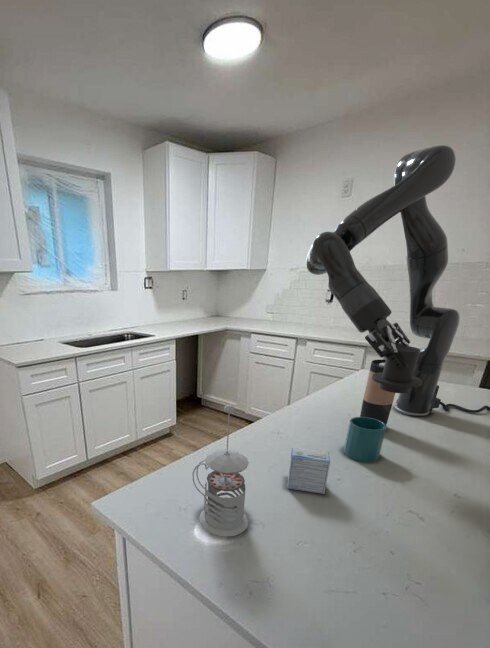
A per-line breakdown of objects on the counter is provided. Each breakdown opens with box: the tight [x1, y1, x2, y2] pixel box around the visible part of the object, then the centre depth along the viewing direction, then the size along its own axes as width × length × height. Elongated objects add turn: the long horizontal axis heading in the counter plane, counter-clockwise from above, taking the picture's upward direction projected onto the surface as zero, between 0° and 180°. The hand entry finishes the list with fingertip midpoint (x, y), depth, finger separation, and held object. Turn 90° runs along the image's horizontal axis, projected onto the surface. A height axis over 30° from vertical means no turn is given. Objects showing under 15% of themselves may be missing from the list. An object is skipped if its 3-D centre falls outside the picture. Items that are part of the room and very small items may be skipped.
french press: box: [192, 403, 250, 538], centre depth 68 cm, size 10×12×25 cm
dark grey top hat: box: [372, 345, 422, 394], centre depth 83 cm, size 10×10×10 cm
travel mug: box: [359, 359, 396, 426], centre depth 106 cm, size 8×8×20 cm
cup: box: [343, 416, 388, 463], centre depth 93 cm, size 8×8×9 cm
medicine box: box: [286, 447, 331, 495], centre depth 81 cm, size 8×4×9 cm, turn 71°
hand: (408, 365), depth 81 cm, fingers closed on dark grey top hat, 6 cm apart
